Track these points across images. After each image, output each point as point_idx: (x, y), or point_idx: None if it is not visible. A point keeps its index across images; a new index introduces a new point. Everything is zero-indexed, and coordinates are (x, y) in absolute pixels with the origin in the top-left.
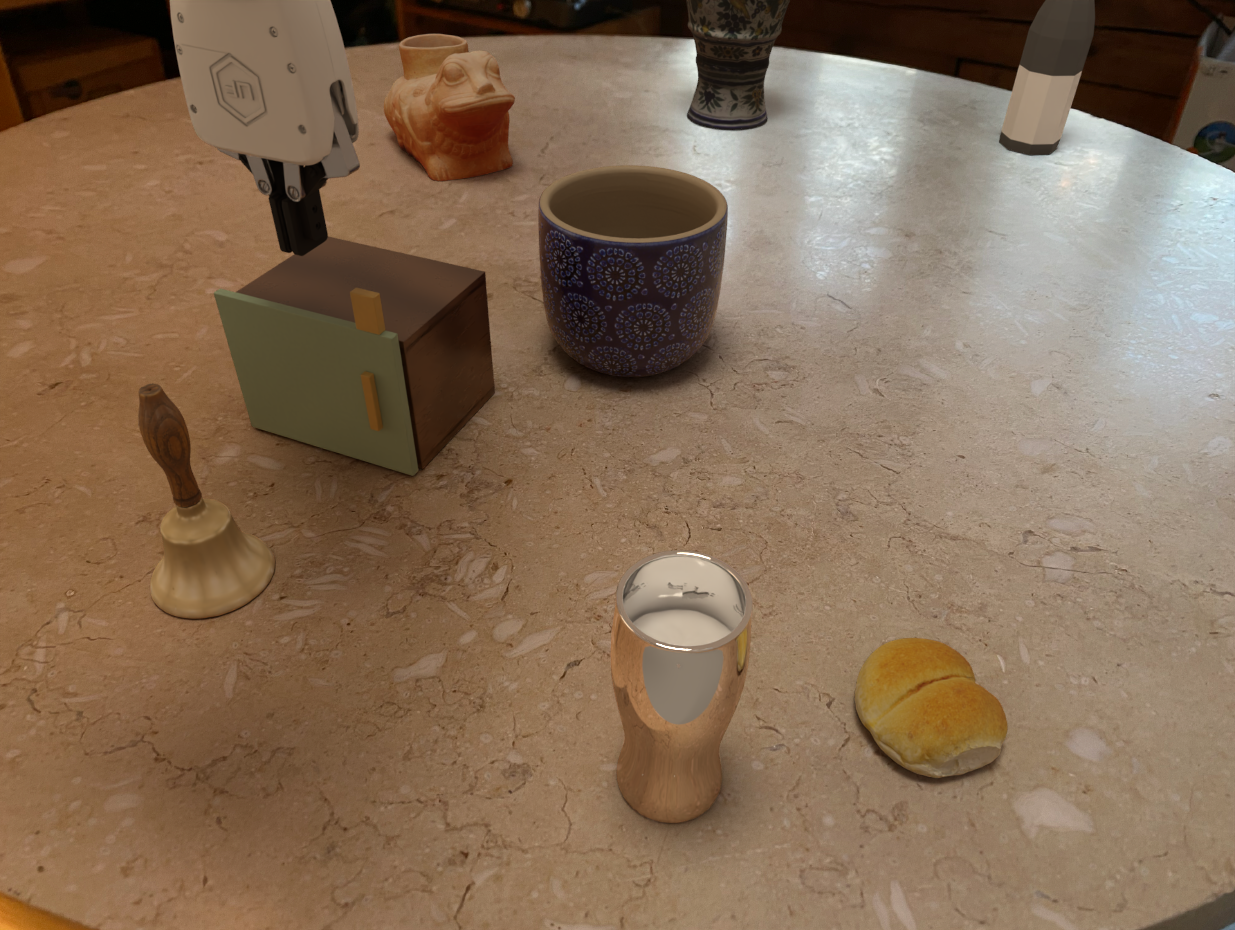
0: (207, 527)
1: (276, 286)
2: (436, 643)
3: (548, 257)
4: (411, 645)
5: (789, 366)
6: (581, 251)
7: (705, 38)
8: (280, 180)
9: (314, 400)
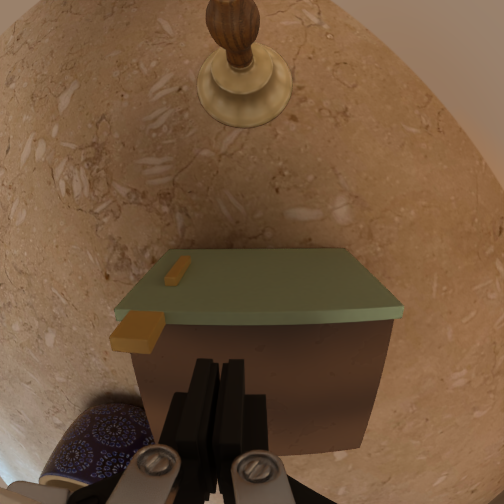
0: (218, 59)
1: (352, 362)
2: (67, 115)
3: None
4: (79, 105)
5: (57, 427)
6: (92, 473)
7: None
8: (230, 492)
9: (263, 265)
